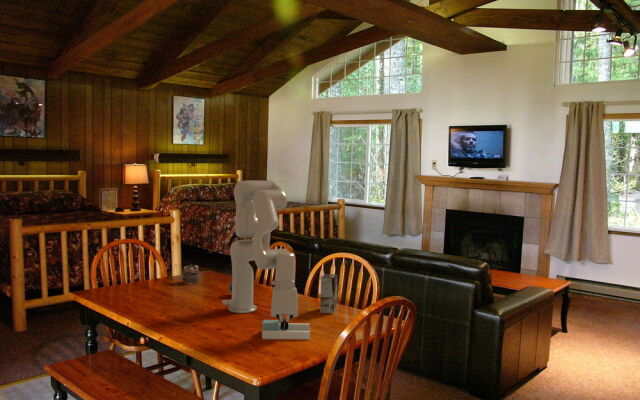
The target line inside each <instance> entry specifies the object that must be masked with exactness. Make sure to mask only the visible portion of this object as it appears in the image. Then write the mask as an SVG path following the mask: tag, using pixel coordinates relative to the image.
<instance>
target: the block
mask: <svg viewBox="0 0 640 400" xmlns="http://www.w3.org/2000/svg"><path fill="white" fill-rule="evenodd" d="M279 323H280V320H279V319H263V321H262V323H261V324H262V325H261V327H262V328H261V332H262V331H263V330H279Z"/></svg>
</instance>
